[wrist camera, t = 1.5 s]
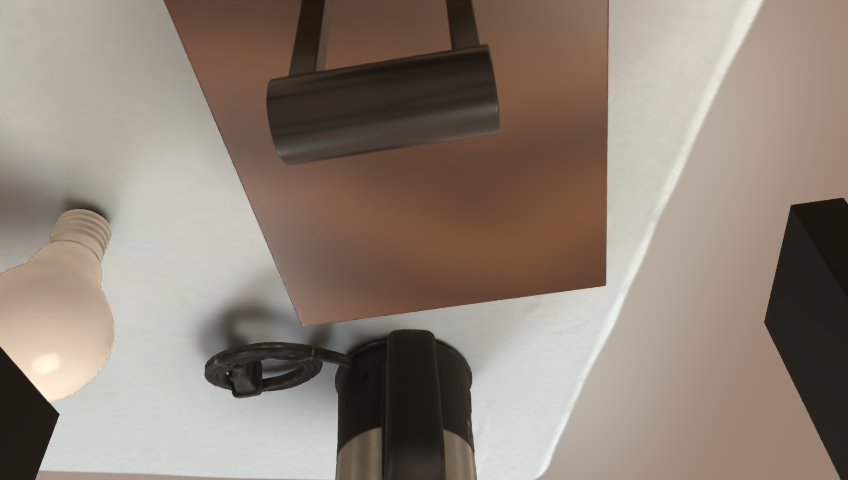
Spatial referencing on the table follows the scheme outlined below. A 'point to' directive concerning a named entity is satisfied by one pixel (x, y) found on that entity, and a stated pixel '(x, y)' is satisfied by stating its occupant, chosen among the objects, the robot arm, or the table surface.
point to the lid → (413, 144)
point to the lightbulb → (60, 308)
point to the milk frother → (377, 402)
